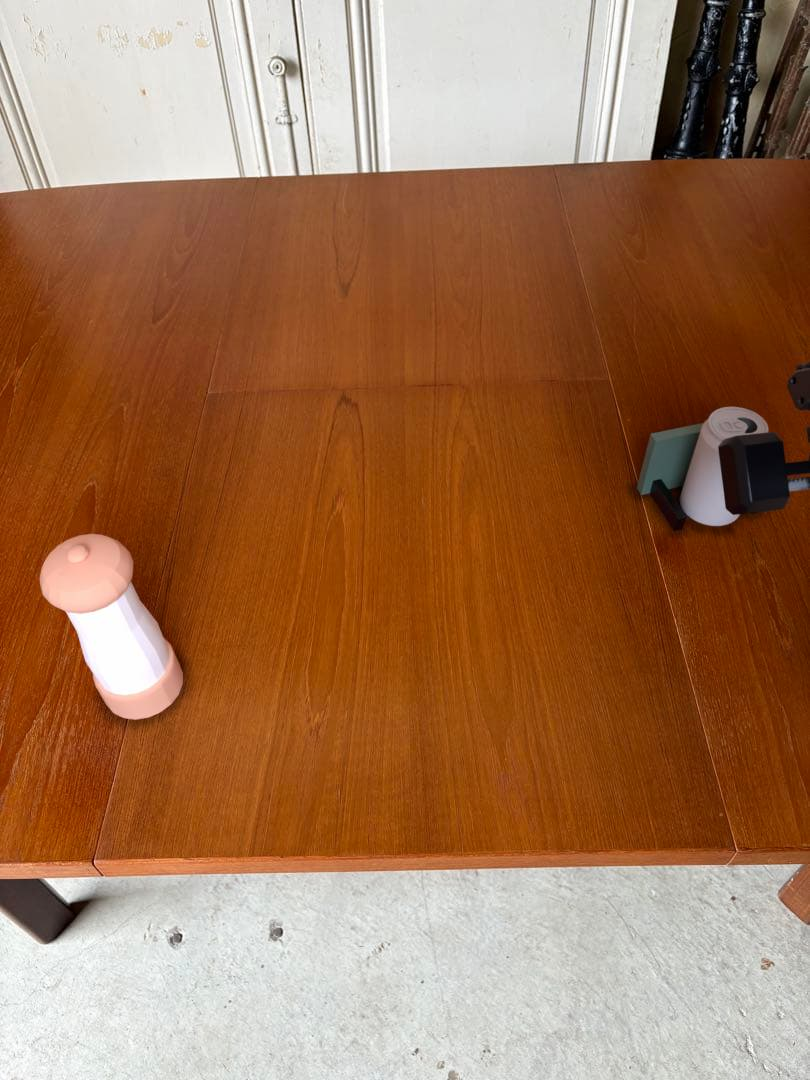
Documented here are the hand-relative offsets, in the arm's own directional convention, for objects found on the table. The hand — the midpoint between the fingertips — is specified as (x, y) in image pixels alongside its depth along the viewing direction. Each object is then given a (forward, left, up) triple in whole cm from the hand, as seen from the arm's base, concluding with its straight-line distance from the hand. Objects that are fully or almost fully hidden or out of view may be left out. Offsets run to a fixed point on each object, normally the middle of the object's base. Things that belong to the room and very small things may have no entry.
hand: (770, 475), depth 74 cm
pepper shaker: (+42, +43, -12) cm, 61 cm away
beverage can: (+5, -6, -12) cm, 14 cm away
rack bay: (+6, -7, -12) cm, 15 cm away
